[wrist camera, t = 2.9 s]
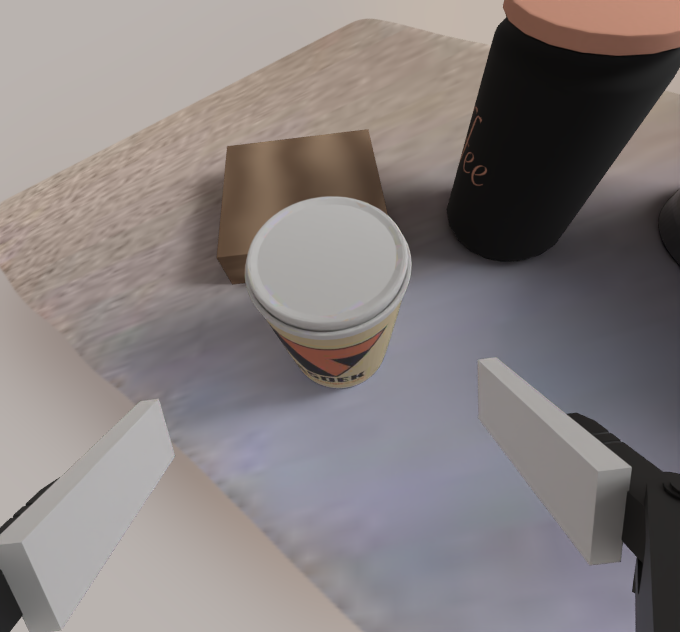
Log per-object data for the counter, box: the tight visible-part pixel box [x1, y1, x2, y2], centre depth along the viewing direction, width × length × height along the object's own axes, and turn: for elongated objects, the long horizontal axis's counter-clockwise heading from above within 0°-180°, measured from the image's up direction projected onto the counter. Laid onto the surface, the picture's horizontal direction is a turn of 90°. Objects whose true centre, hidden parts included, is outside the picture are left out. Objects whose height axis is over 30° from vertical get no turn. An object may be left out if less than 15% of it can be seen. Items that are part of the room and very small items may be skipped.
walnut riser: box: [217, 129, 388, 284], centre depth 35 cm, size 15×15×4 cm
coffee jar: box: [447, 0, 680, 261], centre depth 27 cm, size 11×11×18 cm
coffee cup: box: [245, 197, 412, 388], centre depth 24 cm, size 9×9×12 cm
